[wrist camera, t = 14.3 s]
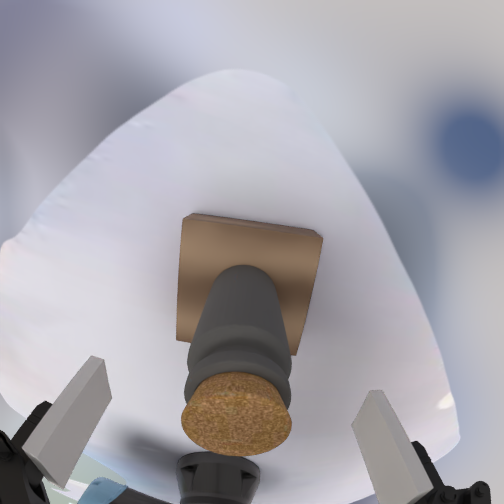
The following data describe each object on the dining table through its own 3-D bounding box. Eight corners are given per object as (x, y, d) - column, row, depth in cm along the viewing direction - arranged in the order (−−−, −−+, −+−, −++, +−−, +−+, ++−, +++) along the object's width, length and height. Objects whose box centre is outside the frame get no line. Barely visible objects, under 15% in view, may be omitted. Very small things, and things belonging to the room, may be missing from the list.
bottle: (284, 273, 24) (328, 395, 9) (265, 330, 25) (278, 468, 11) (219, 256, 23) (174, 365, 9) (204, 315, 25) (163, 447, 10)
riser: (291, 335, 30) (295, 355, 26) (184, 321, 29) (176, 340, 26) (313, 230, 27) (323, 238, 23) (192, 213, 26) (182, 218, 23)
